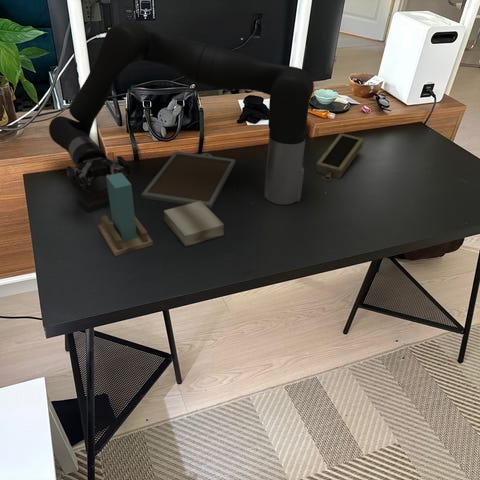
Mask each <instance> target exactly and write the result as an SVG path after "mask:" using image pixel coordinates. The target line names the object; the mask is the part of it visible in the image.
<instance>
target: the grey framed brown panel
mask: <svg viewBox="0 0 480 480" xmlns="http://www.w3.org/2000/svg"><path fill="white" fill-rule="evenodd" d="M236 162H237V161H236V159H233V158H228V157H227V158H226V157H221V156H215V155H212V154H210V153H208V152H207V153H206V152H203V153H201V154H198V153H191V152H185V151H184V152H183V151H176V150H175V151H174V153H172V155H171V156H170V158H169V159H168V160H167V161H166V163H165V164H164V165H163V166H162V168H161V169H160V171H158V173H157V174H156V175H155V176H154V177H153V179H152V180H151V182H150V183H149V184H148V185H147V187H146V188H145V189H143V191H142V193H141V199H147V200H152V201H161V202H167V203H174V204H180V205H187V204H191V203H194V202H198V201H201V202H202V203H203V204H204V205H205V206H206V207H207V208H208V209H212V208H213V206H214V205H215V202H216V200H217V198H218V197H219V194H220V193H221V192H222V189H223V187H224V185H225V184H226V181H227V180H228V178H229V176H230V174H231V172H232V170H233V168H234V166H235V165H236Z"/></svg>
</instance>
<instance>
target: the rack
mask: <svg viewBox="0 0 480 480" xmlns="http://www.w3.org/2000/svg"><path fill="white" fill-rule="evenodd" d="M100 219H101V224H98V225H97V230H98V231H99V232H100V234H101V236H102V237H103V239H104V240H105V242H106V244H107V245H108V247H109V249H110V250H111V252H112V253H113V254H112V255H114V257H117V256H120V255H123V254H127V253H130V252H134V251H137V250H140V249H145V248H147V247H151V246H153V245H154V242H153V239H152V238H151V237H150V235H149V234H148V232H147V230H146V228H145V227H144V226H143V224H141V221H140V220H139V219H138V218H137V217H136V216H135V223H136V232H137V238H135V239H131V240H128V241H124V242H122V239H121V237H120V236H119V234H118V233H117V231H116V230H115V228H114V227H113V222H112V221H110V219H109V217H108V216H107V215H102V216H100Z"/></svg>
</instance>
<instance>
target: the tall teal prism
mask: <svg viewBox="0 0 480 480" xmlns="http://www.w3.org/2000/svg"><path fill="white" fill-rule="evenodd" d="M105 178H106V185H107V187H108V194H109V201H110V205H109V207H110V213H111V222H113V227H114V228H115V230H116V231H117V233H118V234H119V236H120V237H121V239H122V242H124V241H128V240H131V239H135V238H137V232H136V223H135V217H136V214H135V207H134V206H135V205H134V196H133V189H132V188H133V187H132V183H131V182H130V180H129V181H128V180H127V179H126V177H125V176H124V175H123V174H122V173H117V174H113V175H109V176H106V177H105Z"/></svg>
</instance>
